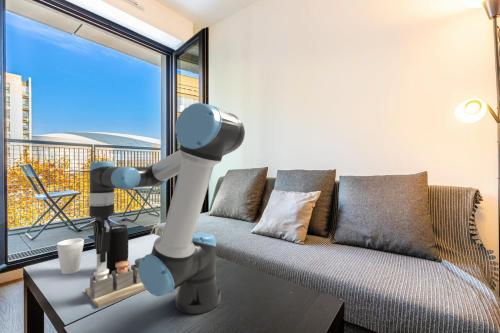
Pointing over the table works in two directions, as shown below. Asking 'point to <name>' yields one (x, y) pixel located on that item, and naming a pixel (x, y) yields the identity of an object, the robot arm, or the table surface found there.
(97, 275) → the plunger cream
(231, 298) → the table surface
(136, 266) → the plunger charcoal
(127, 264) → the plunger terracotta
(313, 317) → the table surface
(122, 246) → the portable speaker
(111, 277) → the board
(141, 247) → the table surface
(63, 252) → the foam cup
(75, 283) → the table surface
